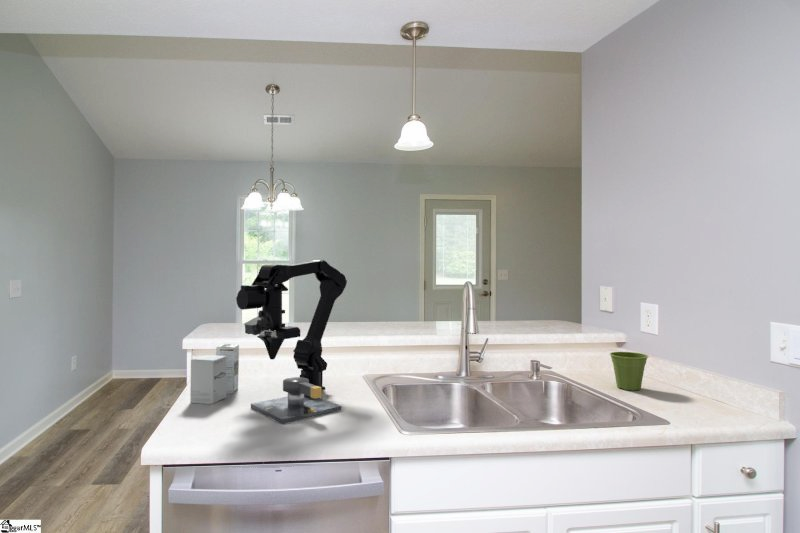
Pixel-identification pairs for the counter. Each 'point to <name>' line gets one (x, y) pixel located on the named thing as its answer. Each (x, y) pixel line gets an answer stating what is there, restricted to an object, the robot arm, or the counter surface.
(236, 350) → the syrup box
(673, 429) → the counter surface
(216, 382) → the supplement box
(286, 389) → the handle
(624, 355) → the plant pot
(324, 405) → the base
